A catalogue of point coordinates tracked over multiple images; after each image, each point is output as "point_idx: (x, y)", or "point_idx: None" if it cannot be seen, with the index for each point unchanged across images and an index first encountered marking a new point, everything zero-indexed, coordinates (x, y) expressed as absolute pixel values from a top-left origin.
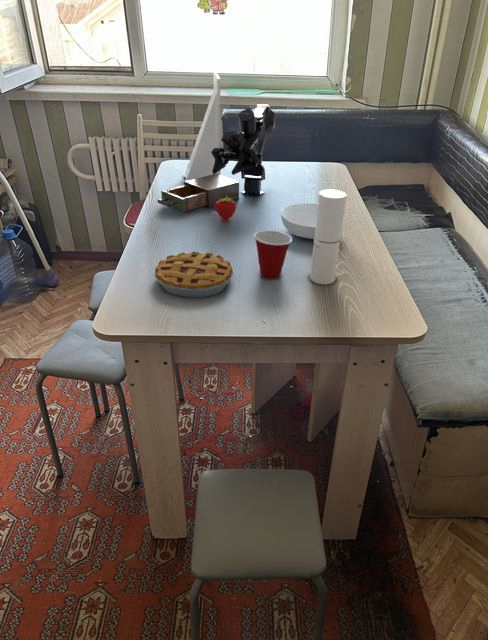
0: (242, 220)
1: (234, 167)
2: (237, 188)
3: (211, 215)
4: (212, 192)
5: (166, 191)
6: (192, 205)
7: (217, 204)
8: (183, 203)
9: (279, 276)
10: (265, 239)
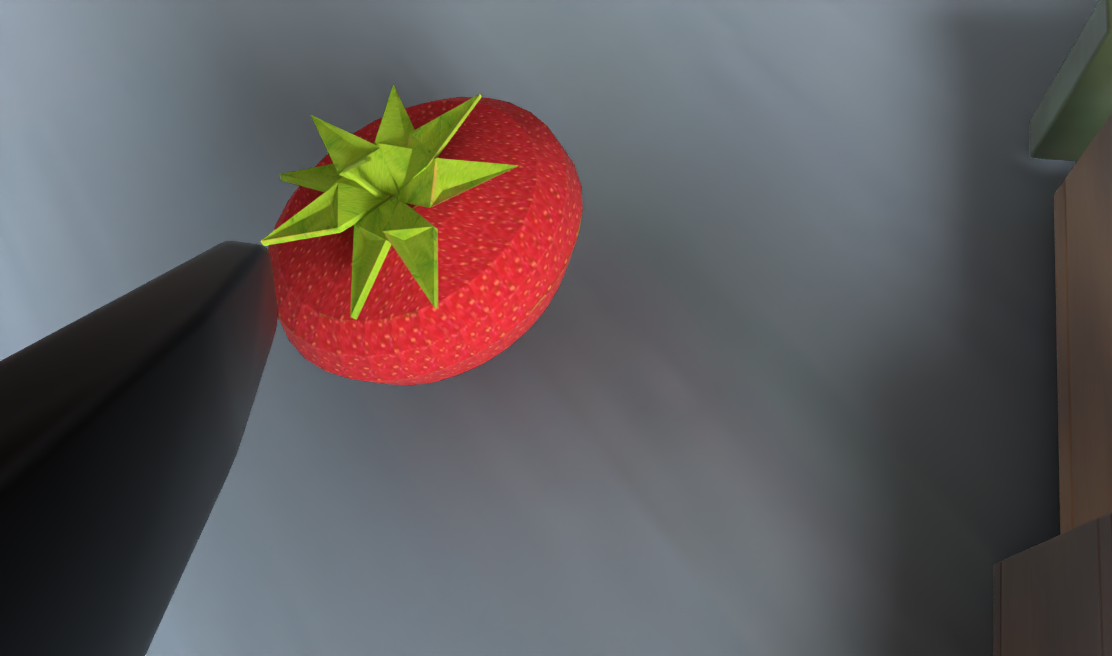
0: (325, 498)
1: (139, 344)
2: None
3: (755, 370)
4: (1089, 643)
5: None
6: (1075, 255)
7: (484, 98)
8: (1081, 40)
9: None
10: None
